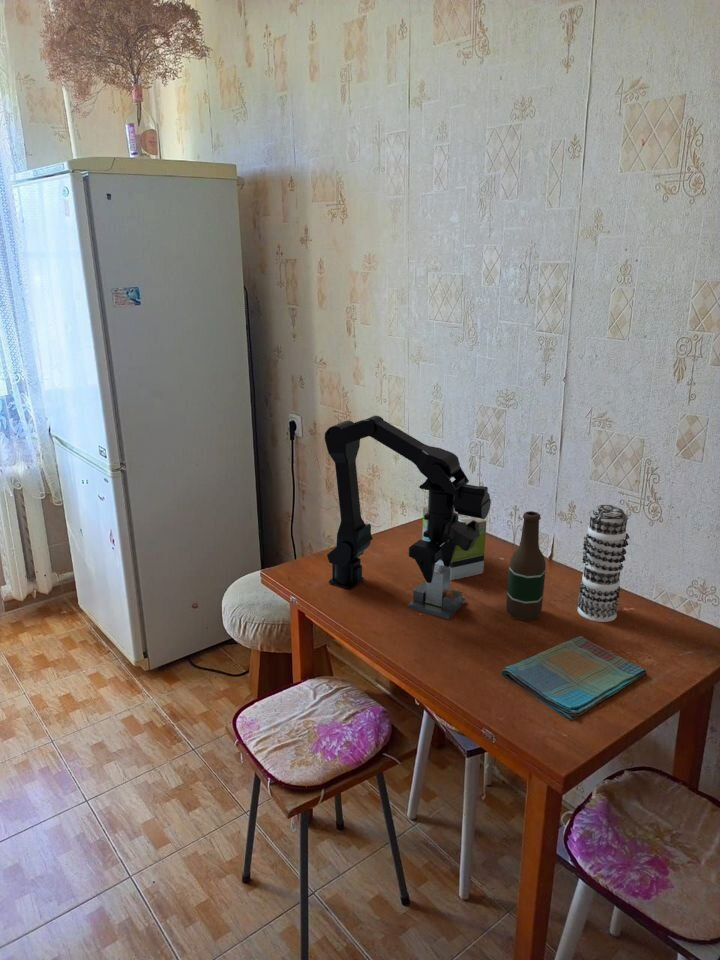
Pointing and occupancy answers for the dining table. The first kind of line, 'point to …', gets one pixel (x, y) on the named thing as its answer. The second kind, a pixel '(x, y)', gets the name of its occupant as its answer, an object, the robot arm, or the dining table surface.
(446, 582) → the grey rectangular block
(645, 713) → the dining table surface
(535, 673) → the dish towel
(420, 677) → the dining table surface
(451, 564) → the tea box
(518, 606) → the beer bottle
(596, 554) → the decorative candle
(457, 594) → the grey square frame
